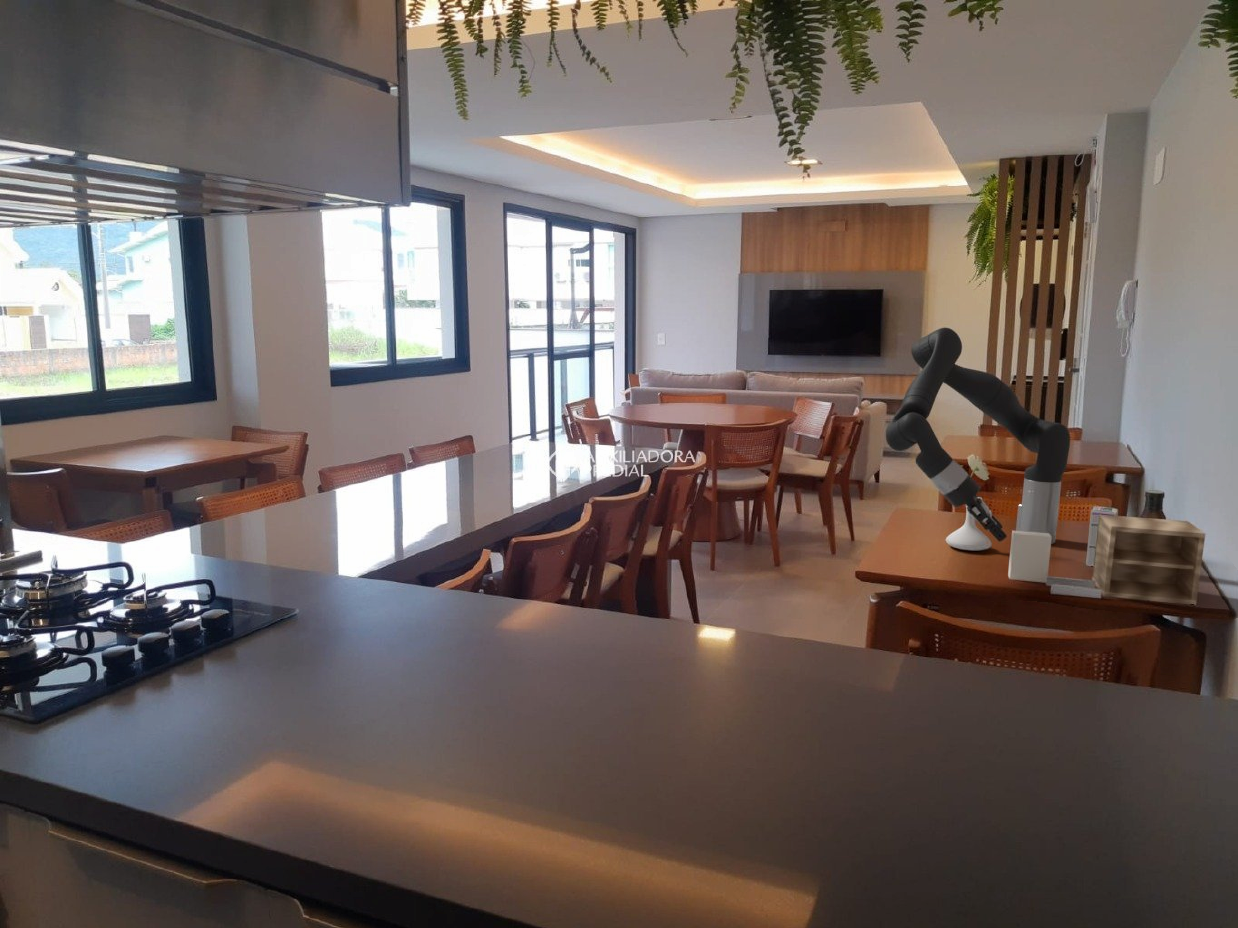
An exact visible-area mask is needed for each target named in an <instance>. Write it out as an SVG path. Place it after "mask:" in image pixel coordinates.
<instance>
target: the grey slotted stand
mask: <svg viewBox="0 0 1238 928" xmlns="http://www.w3.org/2000/svg"><path fill="white" fill-rule="evenodd" d="M1045 585H1046V586H1047V587H1050V594H1051V595H1052V594H1053V595H1060V596H1061V595H1062V596H1072V597H1082V598H1093V599H1102V593H1101V591H1102V590H1101V589H1099V588H1097V587H1096V586H1095V581H1093V580H1092V579H1082V578H1069V577H1061V576H1060V577H1059V576H1050V575H1048V576H1047V578H1046V583H1045Z"/></svg>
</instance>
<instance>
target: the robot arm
mask: <svg viewBox="0 0 1238 928" xmlns="http://www.w3.org/2000/svg"><path fill="white" fill-rule="evenodd" d="M962 350H963V343H962V340H961V338H960V336H959V334H958V333H957V332H956V331H955V330H954V329H952V328H949V327H941V328H939V329H938V328H937V329H935V330H934V331H932V332H930V333H929V334H927V335H925V336H923V337H922V338H920V339H919V340H917V341H916V342H915V343H913V344H912V347H911V351H910V353H911V356H912V359H913V360H914V362H915V364H917V366H918V367H920V368H921V371H920V372H919V373H918V374H917V375H916V376H915V378H914V379H913V381H912V382H911V383H910V385H909V386H908V388H907V391H906V393H905V395H904V398H903V399H902V402H901V405H900V407H899V409H898V410H897V411H896V412H895V414H894V415H893V417H892V418H891V420H890V421H889V423H888V425H887V427H886V431H885V440H886V443H887V445H888V446H889V448H891V449H892V450H894V451H897V452H902V451H906V450H908V449H910V448H911V447H913V446H915V445H916V444H917V446H918V448H919V450H920V452H919V453H918V454H917V455H916V457H915V464H916V466H917V467H918V468H919V469H920V470H921V471H922V472H923V473H924V474H925V475H926V476H927V478H928V479H929V480H930V481H931V482H932V484H933V486H935V488H936V489H937V490H938V491H939V493H941V495H942V496H943V497H944V498H945V499H946V500H947V501H948V502H949V503H950V504H951V505H952V507H954V508H960V507H962V506H963V505H965V506H966V505H967V506H968V507H967V509H968V510H967V511H968V512H969V513H970V514H971V515H972V516H973V517H974V518H975V521H976V522H977V523H979V525H980V526H982V527H983V529H984V530H986V531H989V533H990V534H991V535H992V536H993V537H994V538H995V539H996V540H997V541H998V542H1002V541H1003V540H1005V539H1006V538H1007V533H1005V531H1004V530H1003V524H1002V523H1001V522H1000V521H999V520H998V519H997V518H996V517H995V516H994V514H993V512H992V511H991V510H990V508H989V507H988V505H987V504H986V503H985V501H984V500H983V498H982V497H980V498H978V497H979V496H977V494H978V493H979V492H980V489H981V486H980V485H979V484H978V483H977V482H976V481H975V480H974V479H973V478H972V477H970V476H971V475H970V474H969V473H968V472H967V471H966V470H965V469H964V468H963V467H962V466H961V465H960V463H958V462H957V461H955V460H954V459H953V458H952V456H951V455H950V454H949V453H947V451H946V450H945V449H944V448H943V447H942V445H941V444H940V441H939V439H938V437H937V436H936V434H935V432H934V429H933V428H932V426H931V424H930V423H929V421H928V420H927V419H928V417H929V416H930V414H931V411H932V409H933V406H934V403H935V401H936V398H937V395H938V394H939V392H940V389H941V387H942V386H943V383H944V385H945V384H946V385H947V386H948V387H950V389H951V388H952V390H954V391H955V392H957V393H958V394H959V395H961V396H962V397H963V398H965V399H966V400H967V401H968V402H970V403H971V404H972V405H973V406H974V407H976V408H977V409H978V410H980V411H981V412H982V413H983V414H985V415H986V416H988V417H989V418H990V419H992V420H993V421H995V422H996V423H997V424H999V426H1002V427H1003V428H1005V429H1006V430H1007V431H1008V432H1009V433H1010V434H1011V435H1012V436H1013V437H1014V438H1015V439H1016V440H1017V441H1018V442H1019V443H1020V444H1021V445H1022V446H1023V447H1024V448H1025V449H1027V450H1028V451H1030V452H1032V453H1034V454H1036V456H1037V457H1036V459H1035V460H1036V462H1035V463H1034V464H1033V465H1031V466H1027V467H1026V468H1025V469H1024V475H1023V476H1024V477H1023V479H1024V480H1023V489H1022V497H1021V498H1022V500H1021V503H1019V504H1018V507H1017V518H1016V526H1015V531H1024V532H1037V533H1049V534H1050V535H1051V537H1052V539H1051V545H1052V544H1055V543H1056V537H1057V527H1058V518H1059V509H1060V508H1059V507H1060V498H1061V489H1062V481H1063V480H1062V478H1063V476H1064V473H1065V471H1066V469H1067V465H1068V464H1067V463H1068V458H1069V451H1070V445H1071V434H1070V431H1069V429H1068V428H1067V426H1065V424H1062V423H1059V422H1054V421H1050V420H1045V419H1044V420H1043V419H1041V418H1039V417H1037V416H1036V415H1034V414H1032V413H1031V412H1030V411H1028V410H1026V409H1025V408H1024V407H1023V406H1022V404H1021V403H1020V400H1019V398H1018V396H1017V394H1016V392H1015V391H1014V390H1013V389H1012V388H1011V387H1010V386H1009V385H1008V384H1006V383H1005V382H1004V381H1003V380H1001V379H1000V378H999V377H997V376H996V375H994V374H992V373H990V372H986V371H981V370H978V369H972V368H967V367H963V366H960V365H958V364H956V363H957V361H958V360H959V358H960V356H961V354H962ZM981 498H982V499H981Z"/></svg>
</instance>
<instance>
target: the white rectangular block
mask: <svg viewBox="0 0 1238 928" xmlns="http://www.w3.org/2000/svg"><path fill="white" fill-rule="evenodd" d="M1011 531H1012V532H1011V539H1010V540H1011V542H1010V551H1009V559H1008V561H1009V562H1008V573H1007V576H1008V579H1009V580H1015V581H1023V582H1024V581H1025V582H1033V583H1034V582H1037V583H1045V584H1046V578H1047V576H1049V567H1050V566H1049V565H1050V556H1051V549H1052V548H1051V546H1052V544H1051V539H1052V537H1051V535H1050V534H1049V533H1037V532H1024V531H1016V530H1011Z"/></svg>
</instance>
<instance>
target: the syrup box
mask: <svg viewBox="0 0 1238 928" xmlns="http://www.w3.org/2000/svg"><path fill="white" fill-rule="evenodd" d="M1099 515H1111V516H1119V509H1118V508H1116V507H1115V508H1114V507H1109V506H1098V505H1097V506H1094V505H1093V506H1092V508H1091V509H1090V520H1089V527H1088V539H1087V540H1088V541H1087V549H1086V560H1085V561H1086V562H1085V566H1086V567H1087V566H1088V567H1091V566H1093V567H1094V558H1095V549H1096V540H1097V532H1098V523H1099ZM1093 567H1092V568H1093Z"/></svg>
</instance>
